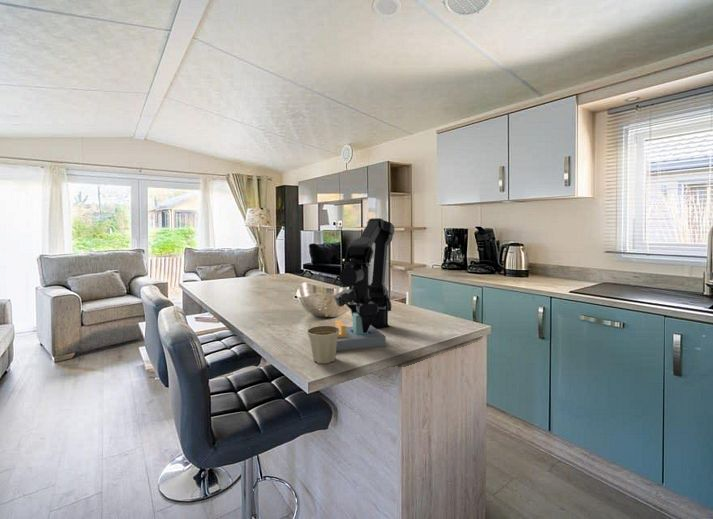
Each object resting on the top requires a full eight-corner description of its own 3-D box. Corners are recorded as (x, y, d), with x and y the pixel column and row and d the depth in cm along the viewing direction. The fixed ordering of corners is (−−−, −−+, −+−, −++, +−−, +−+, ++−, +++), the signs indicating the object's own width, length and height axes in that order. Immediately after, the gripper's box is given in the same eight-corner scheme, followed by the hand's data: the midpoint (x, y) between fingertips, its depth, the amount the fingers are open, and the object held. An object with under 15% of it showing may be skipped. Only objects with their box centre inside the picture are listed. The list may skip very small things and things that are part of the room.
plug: (353, 339, 121) (352, 313, 120) (364, 338, 122) (364, 312, 121) (356, 343, 117) (356, 315, 116) (368, 342, 118) (368, 314, 117)
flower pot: (312, 368, 96) (312, 336, 96) (303, 356, 105) (302, 327, 104) (345, 363, 100) (345, 332, 99) (333, 352, 109) (333, 323, 108)
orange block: (339, 329, 121) (339, 319, 121) (346, 336, 114) (346, 325, 113) (315, 332, 119) (315, 321, 118) (320, 339, 111) (320, 328, 111)
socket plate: (370, 333, 128) (370, 324, 128) (385, 345, 114) (385, 336, 114) (314, 338, 122) (314, 329, 122) (323, 352, 109) (322, 342, 108)
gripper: (329, 279, 124) (330, 323, 126) (343, 287, 106) (344, 339, 108) (360, 277, 127) (360, 321, 129) (379, 285, 110) (379, 336, 111)
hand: (360, 328), depth 119 cm, fingers open, 9 cm apart
